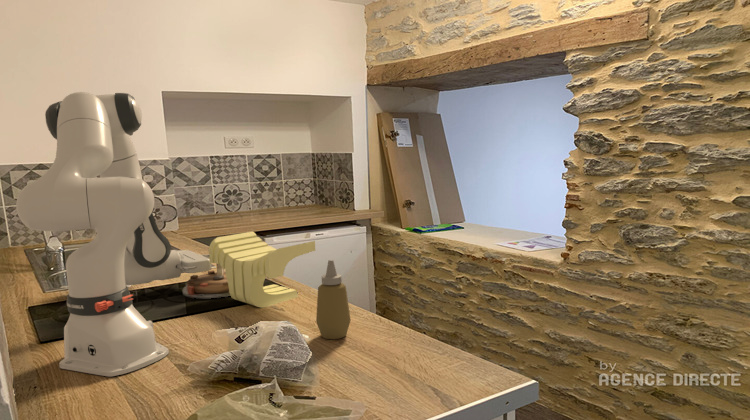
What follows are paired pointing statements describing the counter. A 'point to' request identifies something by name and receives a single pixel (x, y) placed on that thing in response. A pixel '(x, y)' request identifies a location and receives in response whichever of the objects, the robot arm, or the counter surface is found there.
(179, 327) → the counter surface
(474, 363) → the counter surface
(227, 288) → the brown piece
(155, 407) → the counter surface
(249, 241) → the slatted curved stool
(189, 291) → the base plate
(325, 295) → the squeeze bottle
